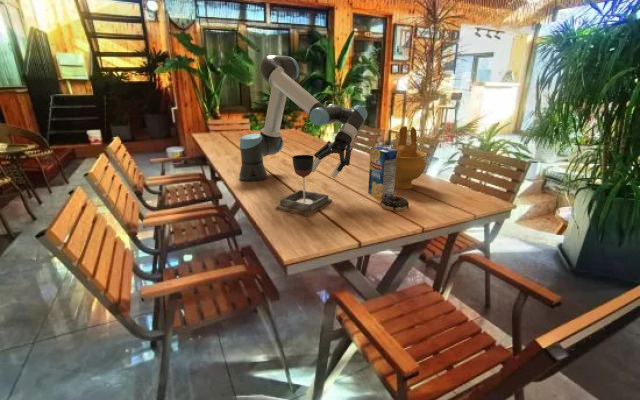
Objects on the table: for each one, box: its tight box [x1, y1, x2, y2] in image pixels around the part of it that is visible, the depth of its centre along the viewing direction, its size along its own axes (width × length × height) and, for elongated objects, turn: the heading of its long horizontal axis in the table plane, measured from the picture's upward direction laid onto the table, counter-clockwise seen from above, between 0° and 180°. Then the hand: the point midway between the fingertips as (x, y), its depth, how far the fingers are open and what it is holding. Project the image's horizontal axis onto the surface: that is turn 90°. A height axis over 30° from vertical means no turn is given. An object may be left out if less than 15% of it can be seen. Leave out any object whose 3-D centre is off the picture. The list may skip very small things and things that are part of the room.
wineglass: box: [292, 154, 314, 204], centre depth 141 cm, size 8×9×20 cm
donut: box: [379, 195, 410, 212], centre depth 141 cm, size 11×12×4 cm
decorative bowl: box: [393, 125, 427, 190], centre depth 166 cm, size 21×21×30 cm
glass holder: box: [275, 189, 333, 218], centre depth 143 cm, size 16×20×4 cm
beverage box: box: [367, 146, 397, 200], centre depth 153 cm, size 7×11×22 cm, turn 26°
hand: (322, 173), depth 147 cm, fingers open, 13 cm apart
